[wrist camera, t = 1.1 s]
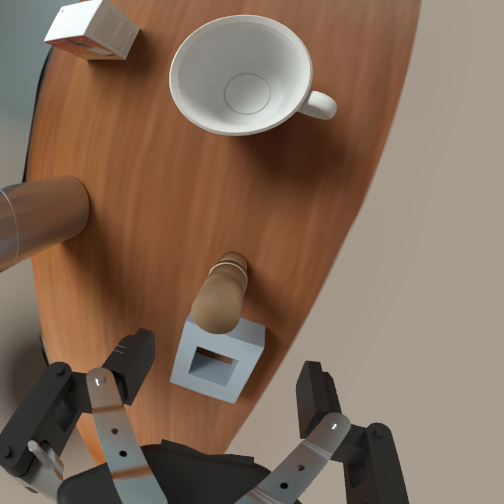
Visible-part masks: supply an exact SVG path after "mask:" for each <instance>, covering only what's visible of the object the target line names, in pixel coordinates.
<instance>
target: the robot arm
mask: <svg viewBox="0 0 504 504" xmlns="http://www.w3.org/2000/svg"><path fill="white" fill-rule="evenodd" d="M89 213H90V204H89V198H88V194H87V191H86V189H85V187H84V186H83V184H82V183H81V182H80V181H79V180H78V179H77V178H75V177H73V176H62V177H55V178H47V179H41V180H35V181H30V182H24V183H19V184H14V185H10V186H5V187H1V188H0V273H1V272H3V271H5V270H7V269H8V268H10V267H12V266H14V265H16V264H17V263H19V262H21V261H23V260H25V259H27V258H29V257H31V256H33V255H35V254H37V253H39V252H41V251H43V250H45V249H47V248H49V247H52V246H54V245H56V244H58V243H60V242H63V241H65V240H67V239H69V238H71V237H74V236H76V235H78V234H79V233H81V232H82V231H83V229H84V228H85V226H86V224H87V222H88V219H89ZM154 357H155V341H154V332H153V331H149V330H146V329H142V328H140V329H139V330H138V331H137V333H136V334H135V335H134V336H133V335H130V334H129V335H128V336H126V337H124V338H123V339H122V340H121V341H120V342H119V344H118V346H116V348H115V349H114V351H113V352H112V353H111V354H110V356H109V357H108V358H107V360H106V361H105V363H104V364H103V365H102V367H101V368H94V369H92V370H90V371H89V372H88V373H79V372H72V370H71V367H70V366H69V365H68V364H67V363H64V362H55V363H52V364H51V365H49V367H48V368H47V369H46V370H45V372H44V373H43V374H42V376H41V377H40V378H39V379H38V381H37V382H36V383H35V385H34V386H33V388H32V389H31V390H30V391H29V393H28V394H27V396H26V397H25V398H24V400H23V401H22V403H21V404H20V405H19V407H18V408H17V410H16V411H15V413H14V414H13V416H12V417H11V419H10V420H9V422H8V423H7V425H6V426H5V428H4V429H3V431H2V432H1V434H0V465H1V466H2V467H3V468H4V469H5V471H6V472H7V473H8V474H9V475H11V477H13V478H14V479H15V480H16V481H17V482H18V483H20V484H21V485H23V486H24V487H25V488H27V489H28V490H29V491H31V492H33V493H40V494H42V495H44V496H45V497H47V498H49V499H50V500H52V501H54V502H55V503H57V504H302V503H301V502H300V501H299V500H298V498H299V496H300V495H301V494H302V493H303V492H304V491H305V490H306V488H307V487H308V486H309V485H310V484H311V483H312V481H313V480H314V479H315V478H316V477H317V475H318V474H319V473H320V471H321V470H322V469H323V467H324V466H325V465H326V464H327V462H328V461H329V460H334V461H338V462H342V463H343V468H344V477H345V486H346V499H347V504H409V501H408V496H407V491H406V487H405V483H404V478H403V475H402V471H401V466H400V462H399V459H398V455H397V451H396V448H395V444H394V441H393V437H392V433H391V431H390V429H389V428H388V427H387V426H386V425H384V424H382V423H372V424H370V425H369V426H368V427H367V428H365V427H360V426H356V425H353V424H351V422H350V420H349V419H348V418H347V417H346V416H345V415H343V414H342V412H341V408H340V404H339V400H338V396H337V393H336V388H335V384H334V381H333V378H332V377H331V376H330V374H329V373H328V372H322V368H321V364H320V362H314V361H305V363H304V365H303V368H302V370H301V373H300V375H299V378H298V381H297V384H296V398H297V408H298V419H299V430H300V438H301V439H305V440H304V441H302V442H301V443H300V444H299V445H298V446H297V447H296V448H295V449H294V450H293V451H292V452H291V454H290V455H288V457H287V458H286V459H285V460H284V461H283V462H282V463H281V464H280V465H279V466H278V467H276V469H274V470H273V471H272V472H271V471H270V470H268V469H267V468H265V467H263V466H261V465H258V464H256V463H254V457H249V456H241V455H233V454H222V455H207V454H204V453H201V452H199V451H197V450H194V449H192V448H190V447H188V446H186V445H183V444H179V443H175V442H171V441H167V440H164V439H162V442H161V444H151V445H144V446H141V447H140V446H139V444H138V441H137V439H136V436H135V434H134V432H133V429H132V426H131V424H130V421H129V419H128V416H127V413H126V410H125V408H124V406H123V405H124V404H127V405H130V406H131V405H132V403H133V401H134V399H135V397H136V395H137V393H138V391H139V389H140V387H141V385H142V383H143V381H144V379H145V377H146V375H147V374H148V372H149V370H150V368H151V366H152V364H153V361H154ZM82 412H83V413H90V414H93V418H94V422H95V426H96V429H97V433H98V436H99V440H100V443H101V446H102V449H103V453H104V456H105V458H106V461H107V462H106V463H103V464H101V465H99V466H96V467H94V468H92V469H89V470H87V471H84V472H82V473H79V474H77V475H74V476H71V477H69V478H67V479H65V480H64V481H63V476H62V475H63V470H64V466H63V463H62V461H61V460H60V458H59V457H60V455H61V453H62V451H63V449H64V447H65V445H66V443H67V441H68V439H69V437H70V435H71V433H72V431H73V429H74V427H75V425H76V423H77V421H78V419H79V418H80V416H81V414H82Z"/></svg>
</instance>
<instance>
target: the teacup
mask: <svg viewBox="0 0 504 504" xmlns="http://www.w3.org/2000/svg"><path fill="white" fill-rule="evenodd" d="M312 74H313V69H312V62H311V58H310V55H309V53H308V51H307V49H306V47H305V45H304V44H303V42H302V41H301V40H300V39H299V38H298V37H297V35H296V34H295V33H293V32H292V31H291V30H290V29H288V28H287V27H285V26H284V25H282V24H280V23H278V22H276V21H274V20H271V19H268V18H265V17H261V16H254V15H236V16H229V17H224V18H220V19H217V20H214V21H212V22H210V23H208V24H205V25H204V26H202V27H200V28H199V29H197V30H196V31H195V32H193V33H192V34H191V35H190V36H189V37H188V38H187V39H186V40H185V41H184V42H183V44H182V45H181V46H180V48H179V49H178V51H177V53H176V54H175V57H174V59H173V61H172V65H171V68H170V75H169V85H170V91H171V94H172V97H173V99H174V101H175V103H176V105H177V107H178V108H179V109H180V111H181V112H182V113H183V114H184V115H185V116H186V117H187V119H189V120H190V121H191V122H193V123H194V124H195V125H197V126H199V127H200V128H202V129H205V130H207V131H209V132H213V133H216V134H221V135H228V136H242V135H251V134H256V133H260V132H263V131H267V130H269V129H271V128H274V127H276V126H278V125H280V124H281V123H283V122H285V121H286V120H287V119H288V118H290V117H291V116H292V115H293V114H294V113H295V112H300V113H303V114H306V115H309V116H312V117H315V118H319V119H325V120H328V119H331V118H332V117H333V116H334V115H335V114H336V111H337V105H336V103H335V101H334V100H333V99H332V98H330V97H329V96H327V95H325V94H323V93H320V92H317V91H310V92H309V89H310V87H311V82H312Z"/></svg>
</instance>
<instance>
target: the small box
mask: <svg viewBox="0 0 504 504" xmlns="http://www.w3.org/2000/svg"><path fill="white" fill-rule="evenodd" d="M139 30H140V28H139V27H138V26H137V25H136V24H135V23H134V22H133V21H132V20H130V19H129V18H128V17H127V16H126V15H125V14H124V13H123V12H122V11H120V10H119V9H118V8H117V7H116V6H115V5H113V4H112V3H111V2H110V1H109V0H91V1H86V2H81V3H77V4H72V5H68V6H63V7H62V8H61V10H60V11H59V13H58V15H57V17H56V18H55V20H54V22H53V24H52V26H51V28H50V30H49V32H48V34H47V36H46V38H45V40H44V42H45V43H48V44H50V45H53V46H55V47H58V48H60V49H63V50H65V51H67V52H70V53H72V54H74V55H76V56H79V57H81V58H83V59H85V60H94V59H107V60H126V58H127V55H128V53H129V51H130V49H131V46H132V44H133V42H134V40H135V38H136V36H137V34H138V32H139Z"/></svg>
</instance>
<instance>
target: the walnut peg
mask: <svg viewBox="0 0 504 504" xmlns="http://www.w3.org/2000/svg"><path fill="white" fill-rule="evenodd" d="M246 271H247V261H246V259H245V257H244V256H243V255H241V254H240V253H237V252H229V253H226V254H225V255H224V256H223V257H222V258H221V260H220V262H218V263H217V264H216V265H214V267H213V268H212V269H211V271H210V273H209V275H208V277H207V279H206V281H205V282H204V284H203V286H202V288H201V290H200V292H199V293H198V295H197V297H196V299H195V301H194V302H193V305H192V309H191V313H192V317H193V320H194V321H195V323H196V324H197V325H198V326H199V327H200V328H201V329H202V330H204V331H206V332H208V333H211V334H225V333H228V332H230V331H232V330H233V329H234V328H235V327H236V326H237V325H238V323H239V319H240V314H241V310H242V305H243V300H244V295H245V290H246V287H247V280H248V277H247V272H246Z"/></svg>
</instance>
